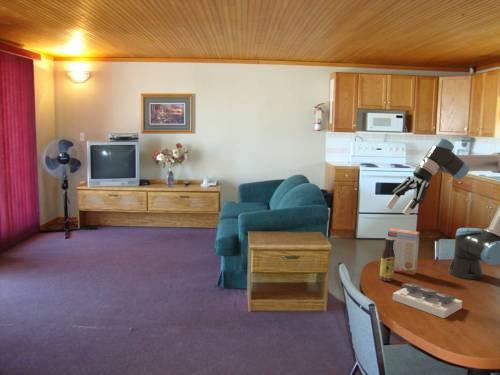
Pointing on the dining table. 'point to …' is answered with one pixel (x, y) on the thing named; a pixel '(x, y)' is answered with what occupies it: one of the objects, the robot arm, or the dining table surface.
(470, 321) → the dining table surface
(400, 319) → the dining table surface
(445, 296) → the switch
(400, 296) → the switch panel
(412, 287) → the switch
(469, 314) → the dining table surface
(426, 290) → the switch middle
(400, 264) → the cracker box
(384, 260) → the sauce bottle
